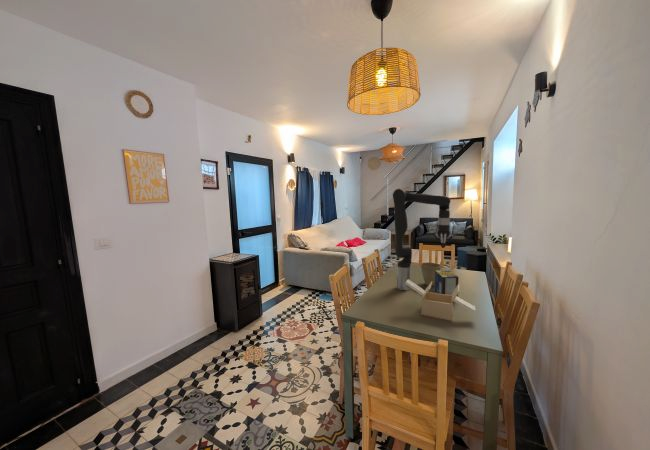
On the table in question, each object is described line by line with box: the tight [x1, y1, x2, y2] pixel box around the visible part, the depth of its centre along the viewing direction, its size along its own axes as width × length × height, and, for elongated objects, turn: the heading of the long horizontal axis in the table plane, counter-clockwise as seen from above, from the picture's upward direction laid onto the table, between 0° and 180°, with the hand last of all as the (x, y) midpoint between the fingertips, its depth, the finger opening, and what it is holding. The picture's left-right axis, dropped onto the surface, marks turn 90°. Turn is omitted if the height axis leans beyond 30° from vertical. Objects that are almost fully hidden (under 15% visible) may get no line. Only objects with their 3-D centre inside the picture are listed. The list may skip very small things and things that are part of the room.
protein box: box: [434, 270, 460, 297], centre depth 177 cm, size 10×15×16 cm
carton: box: [421, 291, 454, 322], centre depth 150 cm, size 16×14×10 cm
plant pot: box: [420, 262, 442, 287], centre depth 198 cm, size 15×15×16 cm
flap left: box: [405, 279, 432, 298], centre depth 154 cm, size 8×14×13 cm
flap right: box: [452, 283, 476, 313], centre depth 142 cm, size 8×14×13 cm
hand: (443, 247), depth 183 cm, fingers closed
